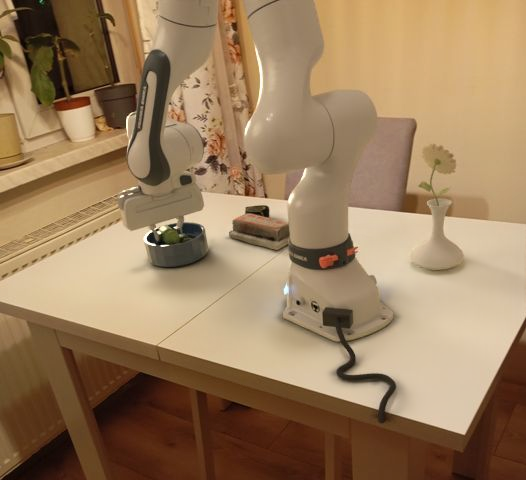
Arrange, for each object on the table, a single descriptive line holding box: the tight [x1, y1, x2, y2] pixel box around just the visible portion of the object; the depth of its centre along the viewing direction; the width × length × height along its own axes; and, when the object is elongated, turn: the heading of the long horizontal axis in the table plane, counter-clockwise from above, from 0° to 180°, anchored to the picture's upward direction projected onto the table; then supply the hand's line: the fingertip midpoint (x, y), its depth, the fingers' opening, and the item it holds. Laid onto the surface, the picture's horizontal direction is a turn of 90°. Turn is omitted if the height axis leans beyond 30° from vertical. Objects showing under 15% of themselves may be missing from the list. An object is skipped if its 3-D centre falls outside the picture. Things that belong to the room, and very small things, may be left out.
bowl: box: [143, 221, 209, 268], centre depth 143 cm, size 15×15×6 cm
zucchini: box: [178, 233, 192, 244], centre depth 144 cm, size 10×4×4 cm, turn 30°
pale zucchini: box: [158, 225, 180, 245], centre depth 141 cm, size 9×4×4 cm, turn 30°
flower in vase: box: [408, 143, 465, 271], centre depth 119 cm, size 13×11×25 cm
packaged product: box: [228, 213, 290, 251], centre depth 147 cm, size 18×5×10 cm
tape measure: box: [244, 204, 270, 218], centre depth 158 cm, size 7×7×4 cm
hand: (169, 236), depth 141 cm, fingers closed on pale zucchini, 4 cm apart
